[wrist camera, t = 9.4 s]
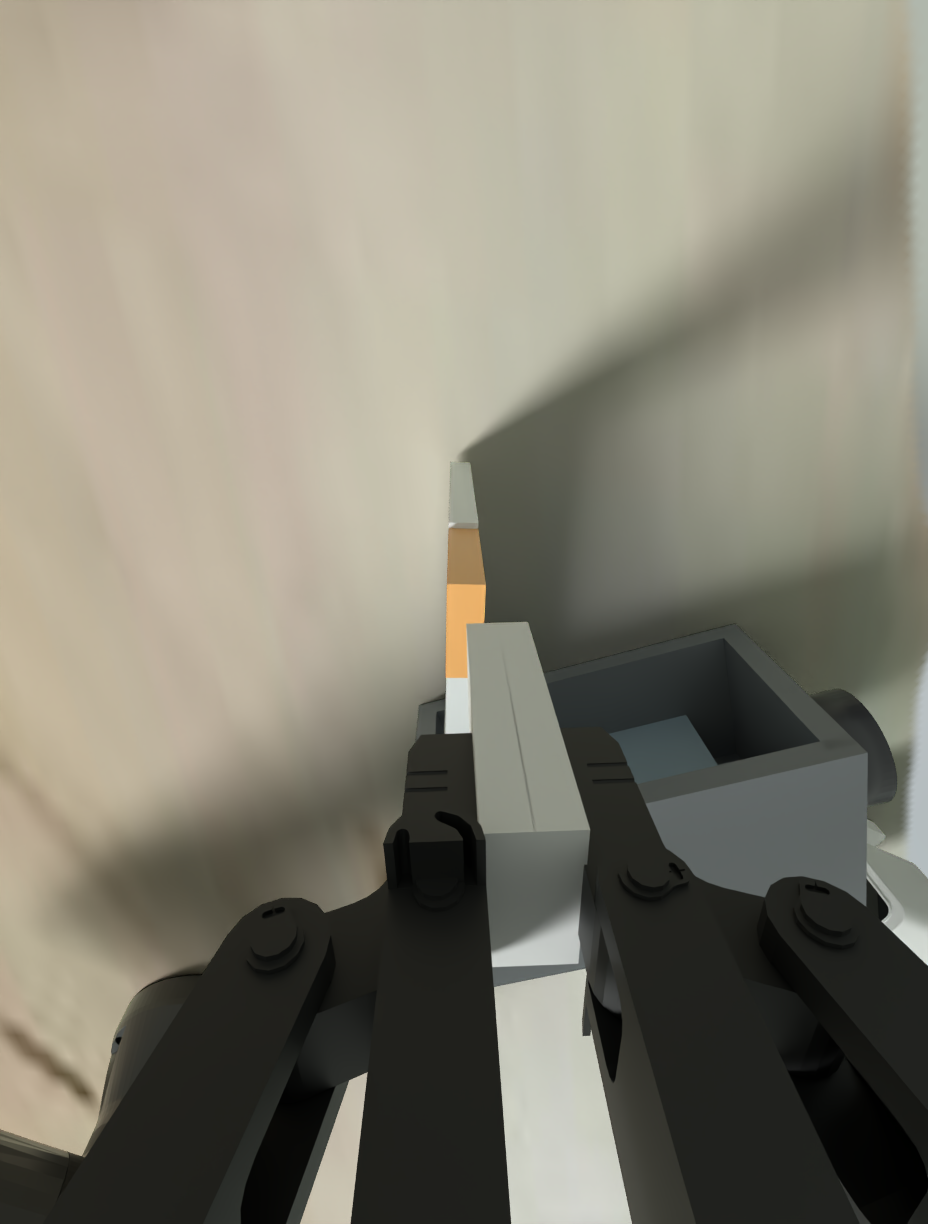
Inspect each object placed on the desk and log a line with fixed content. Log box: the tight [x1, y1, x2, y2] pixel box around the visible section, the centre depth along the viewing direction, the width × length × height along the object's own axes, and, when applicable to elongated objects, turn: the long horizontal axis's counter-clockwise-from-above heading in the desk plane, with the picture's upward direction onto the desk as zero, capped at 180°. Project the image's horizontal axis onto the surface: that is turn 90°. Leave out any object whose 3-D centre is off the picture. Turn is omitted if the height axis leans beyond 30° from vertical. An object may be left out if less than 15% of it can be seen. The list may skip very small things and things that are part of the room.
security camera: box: [866, 819, 928, 965], centre depth 37 cm, size 6×7×10 cm
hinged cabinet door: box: [444, 462, 486, 734], centre depth 25 cm, size 15×1×16 cm, turn 178°
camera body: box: [416, 624, 897, 987], centre depth 31 cm, size 23×10×12 cm, turn 106°
